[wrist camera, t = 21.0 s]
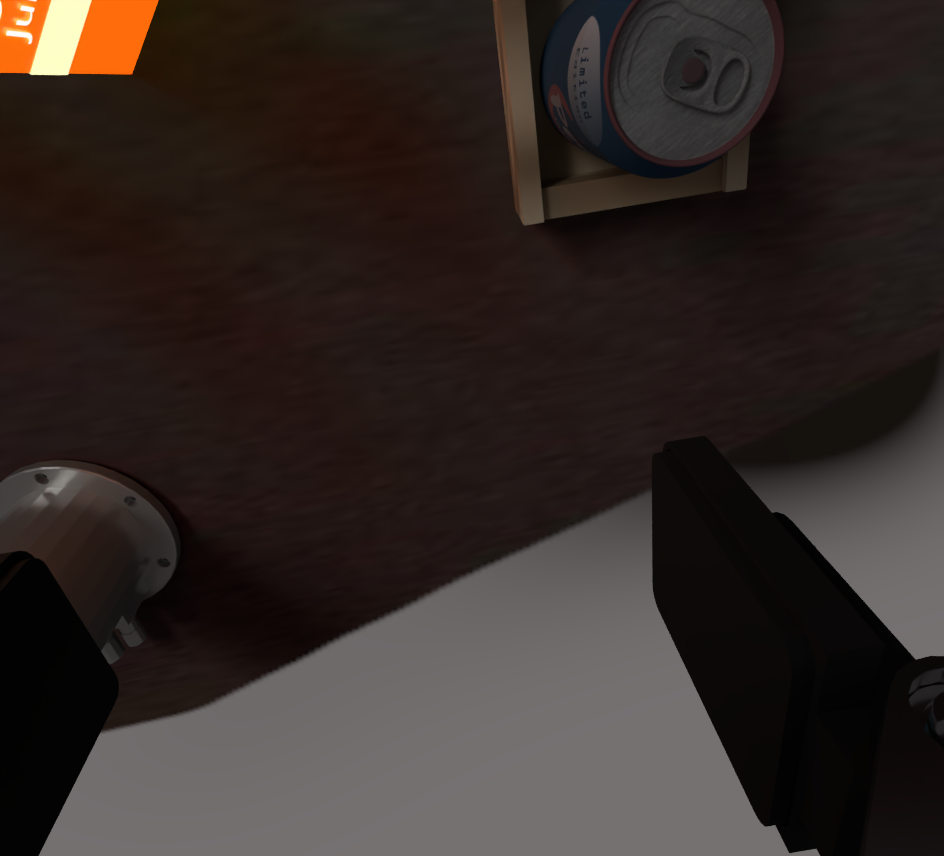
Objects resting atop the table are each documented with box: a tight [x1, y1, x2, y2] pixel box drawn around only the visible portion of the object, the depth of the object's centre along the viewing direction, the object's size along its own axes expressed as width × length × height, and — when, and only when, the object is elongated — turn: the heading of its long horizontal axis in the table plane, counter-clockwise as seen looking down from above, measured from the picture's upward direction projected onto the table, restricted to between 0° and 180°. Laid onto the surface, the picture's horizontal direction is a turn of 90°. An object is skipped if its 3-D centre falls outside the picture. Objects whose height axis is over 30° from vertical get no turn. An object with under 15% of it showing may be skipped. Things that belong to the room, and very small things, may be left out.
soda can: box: [539, 0, 785, 179], centre depth 25 cm, size 7×7×12 cm
